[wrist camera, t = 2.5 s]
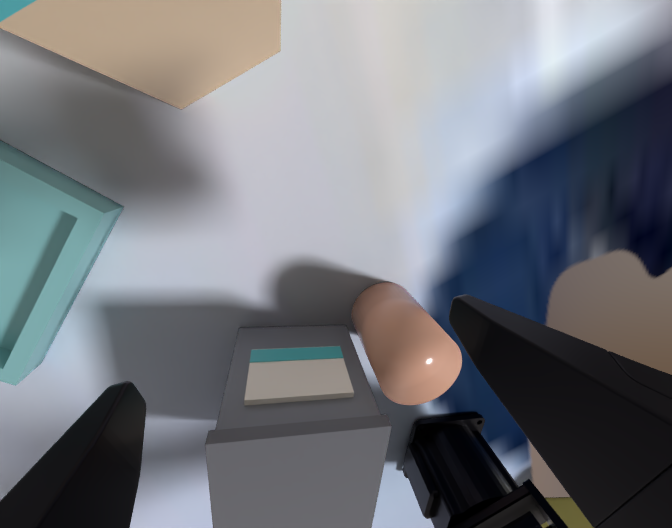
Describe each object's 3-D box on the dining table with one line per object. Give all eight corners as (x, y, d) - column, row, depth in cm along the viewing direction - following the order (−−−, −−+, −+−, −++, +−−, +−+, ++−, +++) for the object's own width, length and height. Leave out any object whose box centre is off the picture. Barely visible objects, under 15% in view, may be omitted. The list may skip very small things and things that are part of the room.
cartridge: (417, 282, 20) (471, 332, 14) (406, 337, 21) (451, 401, 16) (355, 282, 19) (386, 335, 13) (348, 339, 20) (373, 408, 15)
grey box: (349, 320, 20) (392, 423, 12) (338, 415, 23) (367, 546, 15) (232, 323, 18) (198, 442, 11) (236, 424, 21) (212, 574, 14)
